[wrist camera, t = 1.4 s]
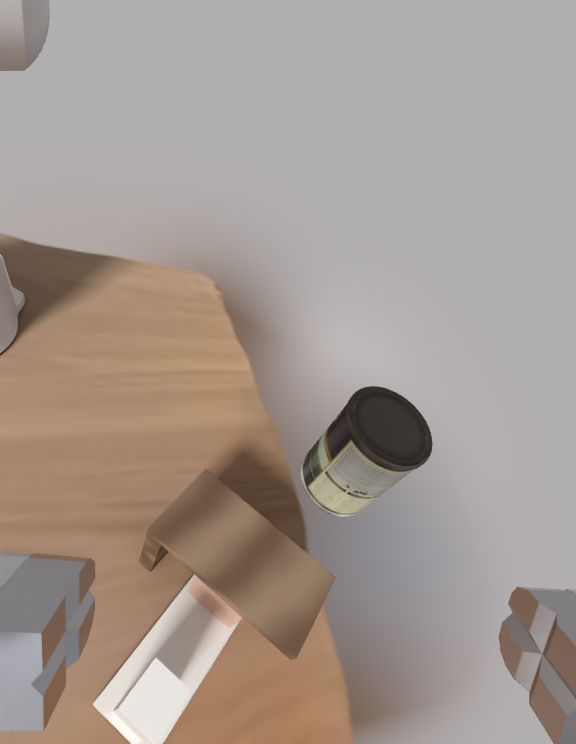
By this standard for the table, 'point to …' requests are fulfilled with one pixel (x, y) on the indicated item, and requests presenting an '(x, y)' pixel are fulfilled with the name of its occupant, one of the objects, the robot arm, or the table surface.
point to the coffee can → (365, 451)
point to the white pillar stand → (164, 671)
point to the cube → (214, 603)
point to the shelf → (242, 561)
